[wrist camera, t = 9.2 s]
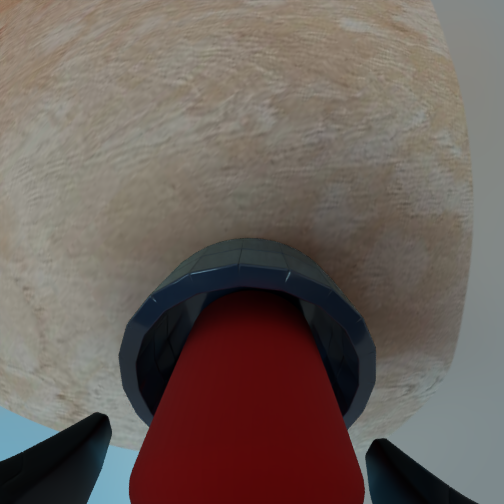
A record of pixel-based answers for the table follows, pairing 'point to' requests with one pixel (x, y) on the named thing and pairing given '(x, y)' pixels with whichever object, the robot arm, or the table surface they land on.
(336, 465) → the beverage can
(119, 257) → the table surface
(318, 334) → the pot
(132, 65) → the table surface
